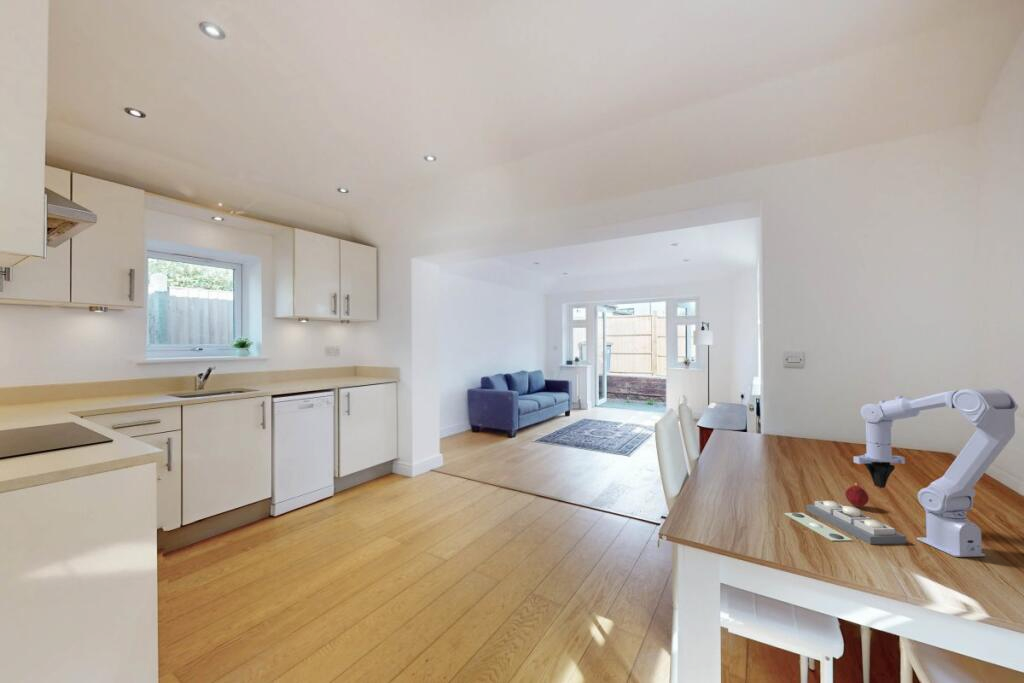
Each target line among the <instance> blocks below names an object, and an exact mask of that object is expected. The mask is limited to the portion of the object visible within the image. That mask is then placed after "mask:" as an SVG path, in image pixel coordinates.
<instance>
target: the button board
mask: <svg viewBox="0 0 1024 683" xmlns="http://www.w3.org/2000/svg"><path fill="white" fill-rule="evenodd" d="M823 501H824V500H814V504H806V512H807V513H810V514H812V515H814V516H816V517H817V518H819V519H822V520H823V521H825V522H826V523H828V524H831V525H833V526H834V527H837V528H839V529H841V530H842V531H844V532H846V533H848V534H850V535H852V536H853V537H856V538H857V539H859V540H861V541H863V542H866V543H867V544H870V545H893V544H894V545H896V544H897V545H898V544H902V545H903V544H907V535H904V534H903V533H900V532H897V531H896V529H895V528H894V527H891V526H890V525H887V524H885V523H883V524H884V528H876V529H874V528H872V527H870V526H867V525H865V524H864V520H866V519H868V520H872V519H871V517H869V516H867V515H864V514H863V513H860V517H850V516H847V515H845V514H843V506H844V505H842V504H840V508H829V507H827V506H825V505H824V503H823ZM832 501H833V502H835V501H834V500H832ZM874 520H875V521H877V520H876V519H874Z"/></svg>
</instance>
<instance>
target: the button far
mask: <svg viewBox="0 0 1024 683" xmlns="http://www.w3.org/2000/svg"><path fill="white" fill-rule="evenodd" d="M822 501H823V503H824V505H825V506H827V507H829V508H840V505H841V503H839V502H836V501H834V500H822ZM833 501H834V502H833Z"/></svg>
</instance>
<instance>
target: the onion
mask: <svg viewBox="0 0 1024 683" xmlns="http://www.w3.org/2000/svg"><path fill="white" fill-rule="evenodd" d="M845 498H846V500H847V501H848V502H849V504H851V505H852V507H855V508H858V509H860V507H864V506H865V505H866V504H867V503H869V499H870V498H869V495H868V493H867V491H866V490H865V489H863V488H862V487H861V486H859V483H858V482H857V483H856V482H855V483H854V485H853V486H850V487H848V488H847V489H846V490H845Z"/></svg>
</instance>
